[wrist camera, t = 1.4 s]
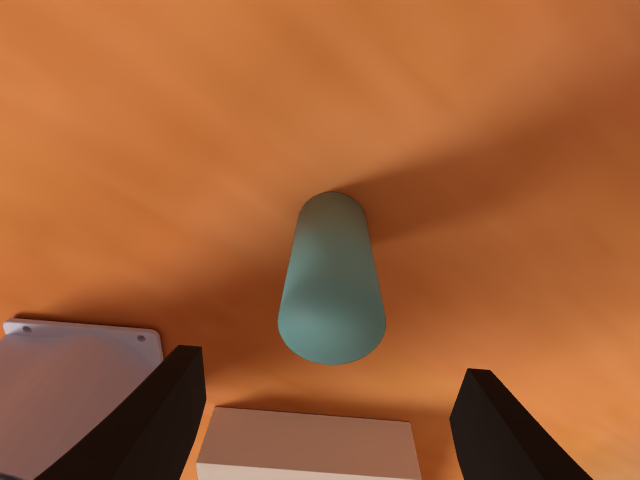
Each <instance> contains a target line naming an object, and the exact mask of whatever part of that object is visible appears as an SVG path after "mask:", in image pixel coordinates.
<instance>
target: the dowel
mask: <svg viewBox="0 0 640 480" xmlns="http://www.w3.org/2000/svg"><path fill="white" fill-rule="evenodd" d="M385 327H386V318H385V313H384V308H383V303H382V298H381V293H380V288H379V283H378V278H377V273H376V267H375V262H374V257H373V252H372V247H371V242H370V237H369V232H368V227H367V222H366V217H365V214H364V211H363V209H362V207H361V206H360V205H359V203H358V202H357V201H356V200H354V199H353V198H351V197H350V196H348V195H345V194H342V193H338V192H326V193H321V194H319V195H316V196H314V197H312V198H311V199H310V200H308V201H307V202H306V203H305V205H304V206H303V207H302V209H301V211H300V213H299V217H298V221H297V226H296V231H295V236H294V241H293V246H292V251H291V256H290V261H289V266H288V271H287V276H286V280H285V285H284V290H283V295H282V300H281V305H280V310H279V315H278V329H279V333H280V335H281V338H282V339H283V341H284V343H285V344H286V345H287V346H288V347H289V348H290V349H291V350H292V351H293V352H294V353H296V354H297V355H299V356H300V357H302V358H304V359H306V360H309V361H312V362H315V363H319V364H326V365H339V364H346V363H350V362H353V361H356V360H359V359H361V358H363V357H365V356H366V355H368V354H369V353H370V352H371V351H373V350H374V349H375V348H376V347H377V345H378V344H379V343H380V341H381V340H382V337H383V335H384V332H385Z"/></svg>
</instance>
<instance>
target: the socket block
mask: <svg viewBox="0 0 640 480" xmlns="http://www.w3.org/2000/svg"><path fill="white" fill-rule="evenodd" d="M196 466H197V474H198V480H422V477H421V472H420V468H419V463H418V458H417V453H416V448H415V444H414V439H413V434H412V429H411V424H410V422H402V421H389V420H376V419H364V418H351V417H338V416H325V415H313V414H300V413H287V412H274V411H262V410H249V409H236V408H224V407H214V410H213V413H212V416H211V419H210V422H209V425H208V428H207V431H206V434H205V437H204V440H203V443H202V446H201V449H200V452H199V455H198V458H197V461H196Z"/></svg>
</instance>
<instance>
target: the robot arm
mask: <svg viewBox="0 0 640 480" xmlns="http://www.w3.org/2000/svg"><path fill="white" fill-rule="evenodd" d="M3 328H4V330H5V333H6V335H5V336H4V337H3V338H2V339H1V340H0V480H179V479H180V477H181V474H182V472H183V469H184V467H185V464H186V461H187V459H188V456H189V454H190V451H191V449H192V446H193V444H194V441H195V438H196V435H197V432H198V428H199V425H200V421H201V418H202V414H203V410H204V407H205V403H206V389H205V378H204V367H203V357H202V347H198V346H186V345H178V346H177V347H176V348H175V349H174V350H173V351H172V352H171V353H170V354H169V355H168V356H167V357H166V358H165V359H163V353H162V347H161V341H160V335H159V333H158V332H157V331H155V330H152V329H142V328H129V327H117V326H104V325H92V324H79V323H67V322H55V321H42V320H30V319H17V318H9V319H8V320H6V321H5V322H4V323H3ZM142 336H144V337H142ZM449 419H450V424H451V429H452V435H453V440H454V445H455V449H456V454H457V458H458V462H459V465H460V468H461V471H462V474H463V478H464V480H593V479H592V478H591V477H590V476H589V475H588V474H587V473H586V472H585V471H584V470H583V469H582V468H581V467H580V466H579V465H578V464H577V463H576V462H575V461H574V460H573V459H572V458H571V457H570V456H569V455H568V454H567V453H566V452H565V451H564V450H563V449H562V448H561V447H560V446H559V445H558V443H557V442H556V441H555V440H554V439H553V438H552V437H551V436H550V435H549V434H548V433H547V432H546V431H545V430H544V429H543V428H542V426H541V425H540V424H539V423H538V422H537V421H536V420H535V419H534V418H533V417H532V416H531V414H530V413H529V412H528V411H527V410H526V409H525V408H524V407H523V406H522V405H521V403H520V402H519V401H518V400H517V399H516V398H515V397H514V396H513V395H512V393H511V392H510V391H509V390H508V389H507V388H506V387H505V386H504V385H503V383H502V382H501V381H500V380H499V379H498V378H497V377H496V376H495V375H494V374H493V373H492V372H491V370H483V369H471V368H468V369H467V371H466V374H465V377H464V380H463V382H462V385H461V388H460V391H459V394H458V396H457V399H456V402H455V405H454V407H453V410H452V413H451V416H450V418H449Z"/></svg>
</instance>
